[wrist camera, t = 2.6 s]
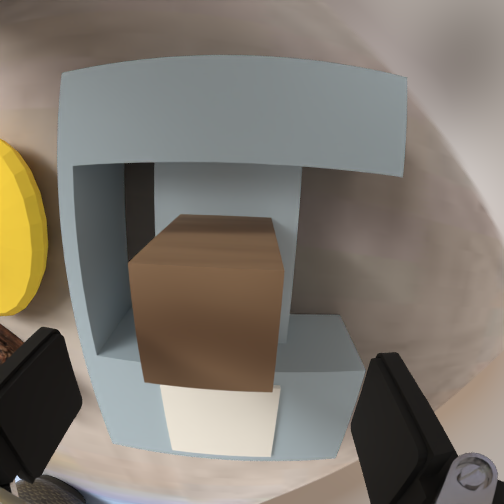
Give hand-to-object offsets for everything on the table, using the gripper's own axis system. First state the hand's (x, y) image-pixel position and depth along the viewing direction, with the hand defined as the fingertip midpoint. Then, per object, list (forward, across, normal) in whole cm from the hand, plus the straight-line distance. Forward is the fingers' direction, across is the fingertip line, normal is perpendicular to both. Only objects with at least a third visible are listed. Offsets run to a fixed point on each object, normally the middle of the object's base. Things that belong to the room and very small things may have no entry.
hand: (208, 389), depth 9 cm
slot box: (+14, +1, +1) cm, 14 cm away
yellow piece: (+14, +22, -2) cm, 26 cm away
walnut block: (+10, +1, -1) cm, 10 cm away
